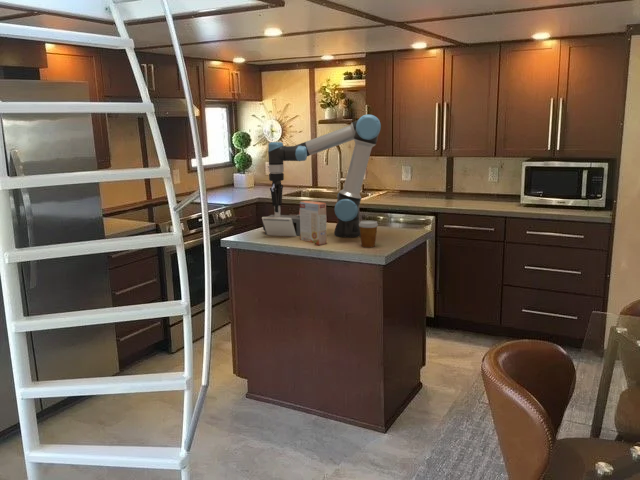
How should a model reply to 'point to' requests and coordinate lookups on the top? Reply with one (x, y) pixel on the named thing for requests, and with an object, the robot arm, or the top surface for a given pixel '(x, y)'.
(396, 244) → the top surface
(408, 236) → the top surface
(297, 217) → the block
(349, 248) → the top surface
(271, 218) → the side door
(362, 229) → the disposable coffee cup
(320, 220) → the cracker box
